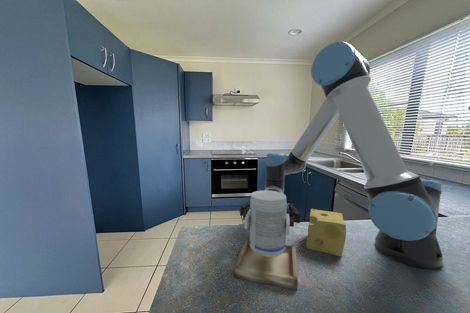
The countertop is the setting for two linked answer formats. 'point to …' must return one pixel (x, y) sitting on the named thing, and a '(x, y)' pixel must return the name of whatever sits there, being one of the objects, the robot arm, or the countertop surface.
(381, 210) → the robot arm
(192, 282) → the countertop surface
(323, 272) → the countertop surface
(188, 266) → the countertop surface
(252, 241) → the supplement tub
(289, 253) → the tray
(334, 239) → the cheese
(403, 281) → the countertop surface
